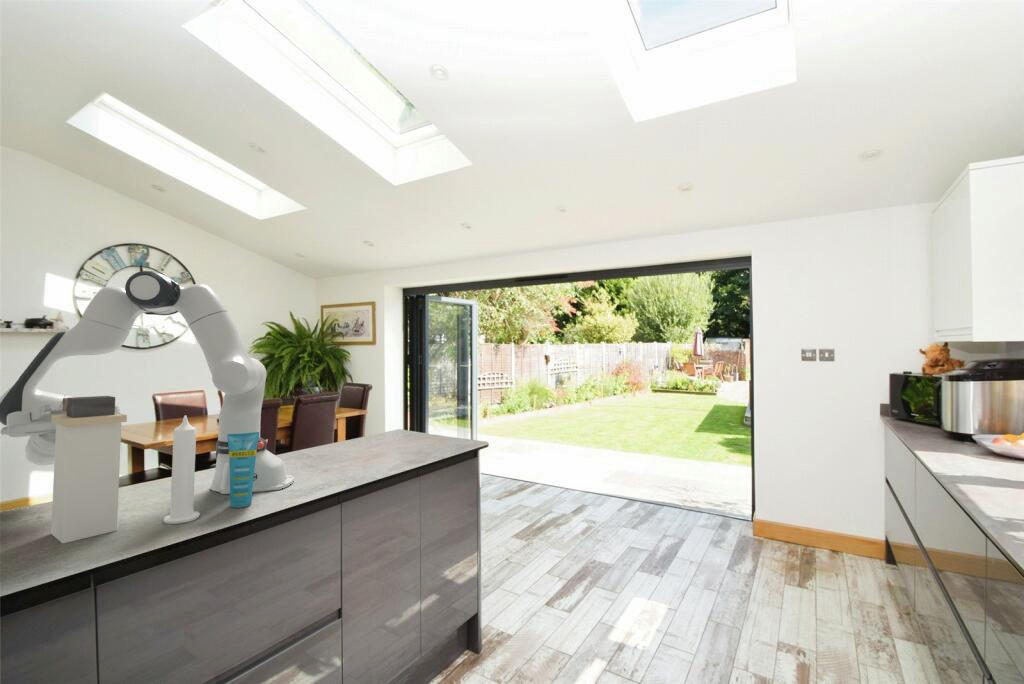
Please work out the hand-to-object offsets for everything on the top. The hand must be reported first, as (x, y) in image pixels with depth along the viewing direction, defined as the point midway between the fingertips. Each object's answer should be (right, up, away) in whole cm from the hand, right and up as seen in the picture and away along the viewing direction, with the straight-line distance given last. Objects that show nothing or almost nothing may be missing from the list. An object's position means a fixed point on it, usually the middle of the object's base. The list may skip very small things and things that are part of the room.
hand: (74, 405), depth 111 cm
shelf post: (+9, -27, -8) cm, 30 cm away
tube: (+33, -28, +12) cm, 45 cm away
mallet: (+5, -1, -4) cm, 6 cm away
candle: (+25, -28, +1) cm, 37 cm away
